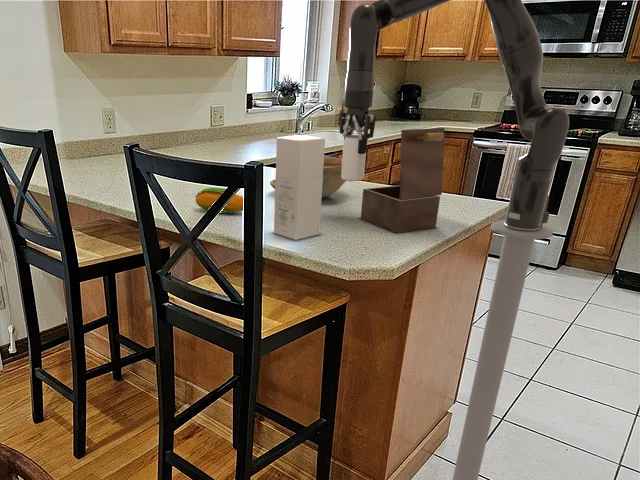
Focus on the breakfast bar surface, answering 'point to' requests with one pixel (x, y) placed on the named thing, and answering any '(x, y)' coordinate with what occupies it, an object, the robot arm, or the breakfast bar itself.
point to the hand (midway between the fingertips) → (354, 151)
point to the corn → (212, 194)
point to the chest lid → (421, 162)
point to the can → (352, 160)
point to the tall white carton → (298, 186)
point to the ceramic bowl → (329, 176)
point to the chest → (398, 210)
